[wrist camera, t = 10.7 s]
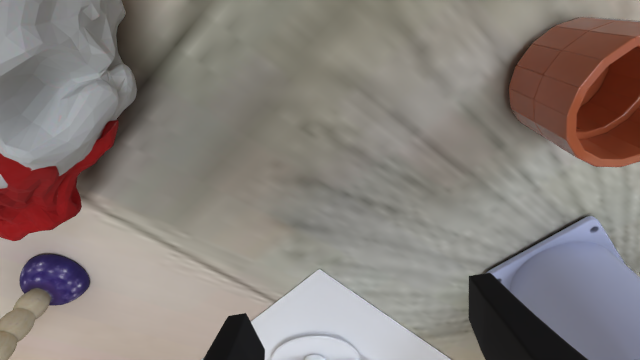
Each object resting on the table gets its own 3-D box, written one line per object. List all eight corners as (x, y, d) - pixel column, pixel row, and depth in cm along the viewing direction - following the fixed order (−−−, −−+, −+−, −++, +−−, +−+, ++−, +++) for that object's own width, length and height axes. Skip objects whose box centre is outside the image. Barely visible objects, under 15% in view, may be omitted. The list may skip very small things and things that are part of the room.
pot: (631, 78, 17) (738, 107, 13) (531, 145, 19) (595, 189, 15) (593, -12, 15) (706, -14, 11) (484, 73, 17) (543, 101, 13)
